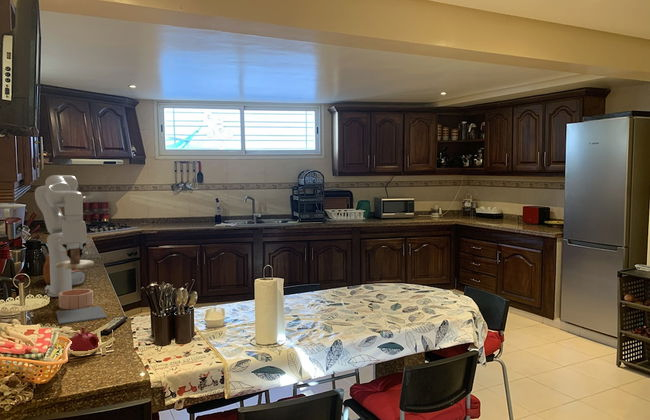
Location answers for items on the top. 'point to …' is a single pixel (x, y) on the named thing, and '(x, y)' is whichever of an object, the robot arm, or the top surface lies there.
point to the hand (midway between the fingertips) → (74, 257)
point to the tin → (78, 277)
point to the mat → (80, 315)
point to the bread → (47, 269)
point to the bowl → (75, 298)
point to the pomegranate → (84, 341)
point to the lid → (74, 261)
